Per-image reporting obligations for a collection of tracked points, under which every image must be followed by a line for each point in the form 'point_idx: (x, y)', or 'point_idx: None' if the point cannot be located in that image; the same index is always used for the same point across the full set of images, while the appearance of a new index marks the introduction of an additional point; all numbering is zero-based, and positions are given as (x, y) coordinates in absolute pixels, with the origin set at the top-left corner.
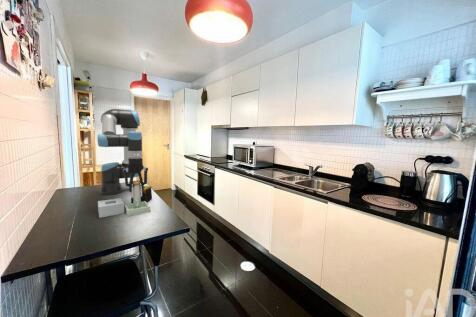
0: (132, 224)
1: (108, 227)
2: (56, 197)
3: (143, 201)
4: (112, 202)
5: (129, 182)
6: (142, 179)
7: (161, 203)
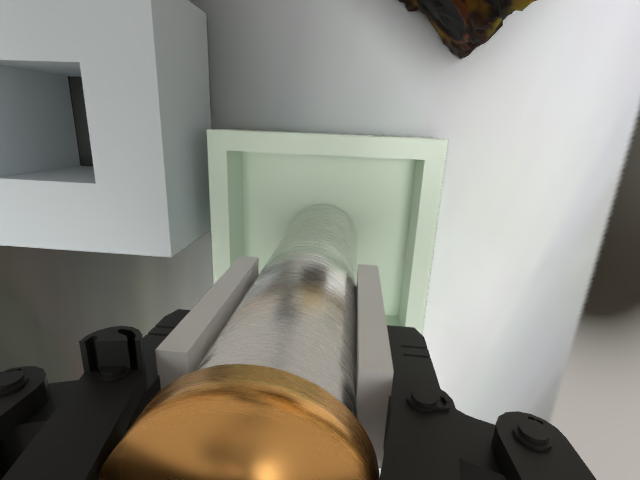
0: None
1: None
2: None
3: (450, 30)
4: (65, 63)
5: (43, 452)
6: None
7: (618, 148)
